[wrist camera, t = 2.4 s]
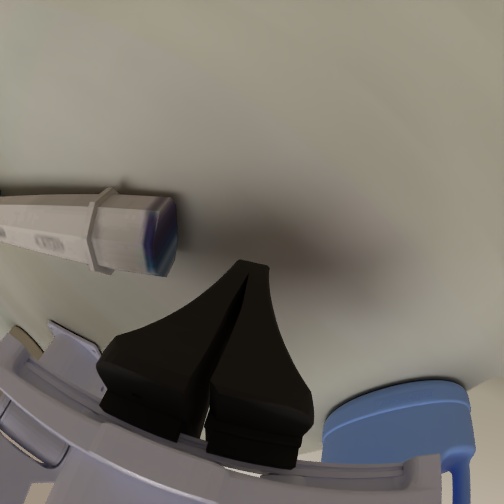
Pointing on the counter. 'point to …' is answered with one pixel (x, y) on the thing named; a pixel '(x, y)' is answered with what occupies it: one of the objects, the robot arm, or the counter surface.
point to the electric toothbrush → (95, 229)
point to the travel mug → (26, 343)
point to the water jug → (406, 429)
